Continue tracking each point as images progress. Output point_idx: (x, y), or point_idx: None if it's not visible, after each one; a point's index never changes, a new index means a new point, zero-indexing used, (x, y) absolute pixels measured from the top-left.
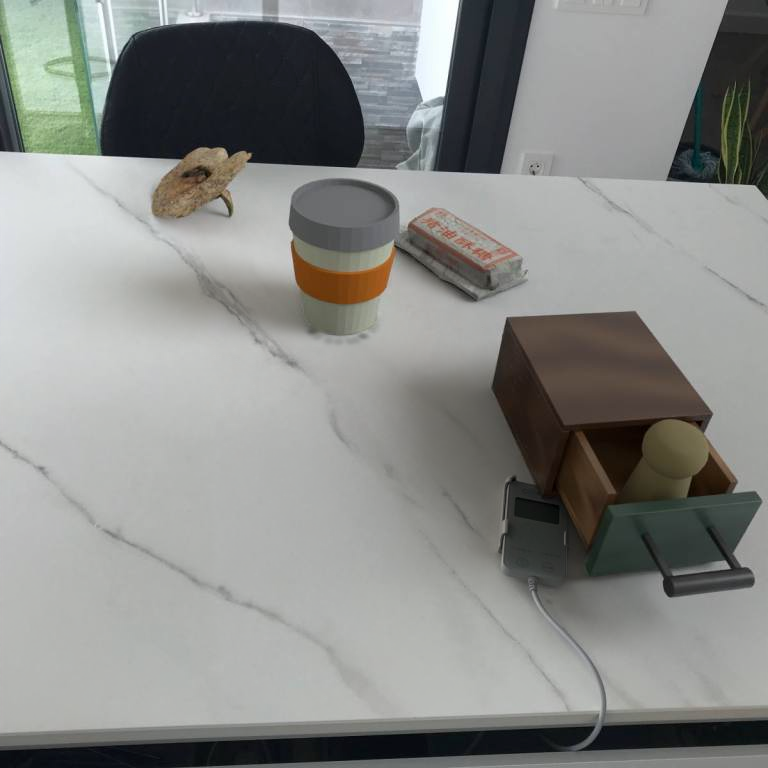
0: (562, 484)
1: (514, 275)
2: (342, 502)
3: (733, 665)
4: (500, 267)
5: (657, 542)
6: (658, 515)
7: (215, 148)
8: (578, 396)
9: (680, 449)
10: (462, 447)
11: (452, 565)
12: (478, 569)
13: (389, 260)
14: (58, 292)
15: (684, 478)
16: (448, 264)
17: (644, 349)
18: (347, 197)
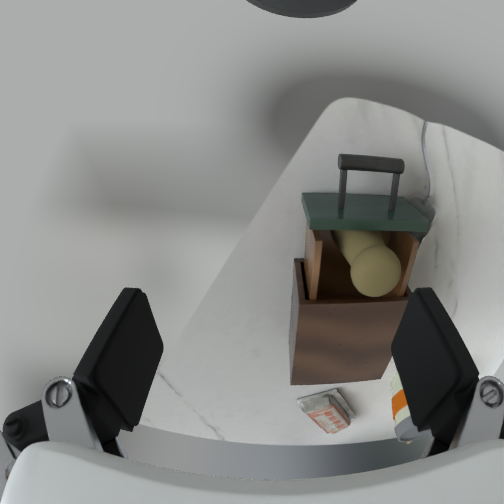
0: None
1: (309, 402)
2: (476, 266)
3: (340, 118)
4: (322, 407)
5: (377, 205)
6: (397, 219)
7: (410, 442)
8: (388, 323)
9: (392, 266)
10: None
11: (456, 220)
12: (447, 215)
13: (405, 405)
14: (488, 369)
15: (372, 245)
16: (340, 406)
17: (309, 359)
18: (417, 432)
